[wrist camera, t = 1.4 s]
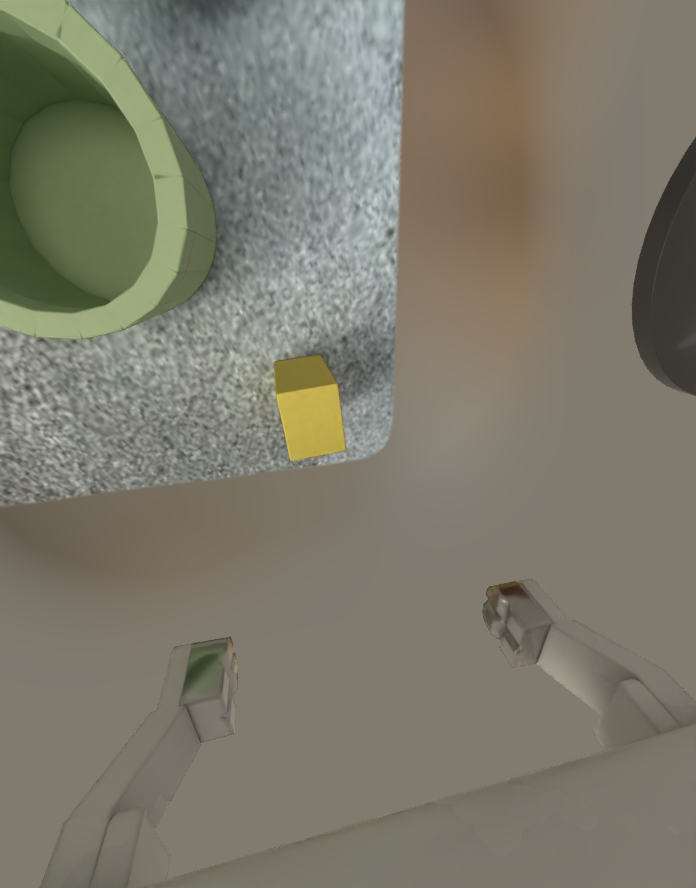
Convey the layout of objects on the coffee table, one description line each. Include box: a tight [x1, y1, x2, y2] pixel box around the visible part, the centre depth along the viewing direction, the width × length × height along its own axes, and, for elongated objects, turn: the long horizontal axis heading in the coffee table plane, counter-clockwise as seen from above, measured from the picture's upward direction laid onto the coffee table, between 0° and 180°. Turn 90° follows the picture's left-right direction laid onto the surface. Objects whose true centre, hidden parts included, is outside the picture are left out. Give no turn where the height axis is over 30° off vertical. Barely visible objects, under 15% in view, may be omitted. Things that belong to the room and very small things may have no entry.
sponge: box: [274, 355, 346, 461], centre depth 22 cm, size 3×4×7 cm
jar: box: [0, 0, 217, 340], centre depth 15 cm, size 10×10×8 cm
